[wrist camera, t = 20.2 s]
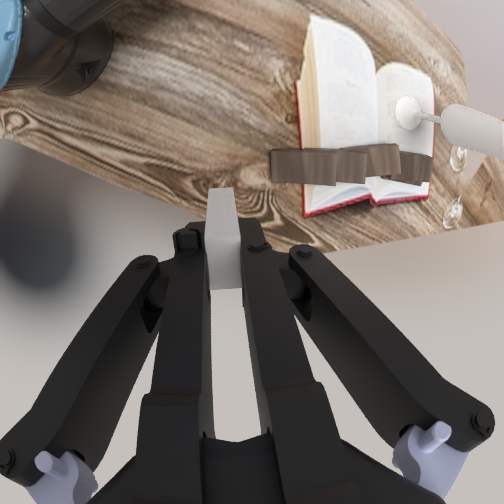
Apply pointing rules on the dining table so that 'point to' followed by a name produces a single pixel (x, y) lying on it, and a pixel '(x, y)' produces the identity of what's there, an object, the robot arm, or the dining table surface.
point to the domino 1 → (304, 166)
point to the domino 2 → (349, 165)
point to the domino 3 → (380, 159)
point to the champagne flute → (458, 126)
